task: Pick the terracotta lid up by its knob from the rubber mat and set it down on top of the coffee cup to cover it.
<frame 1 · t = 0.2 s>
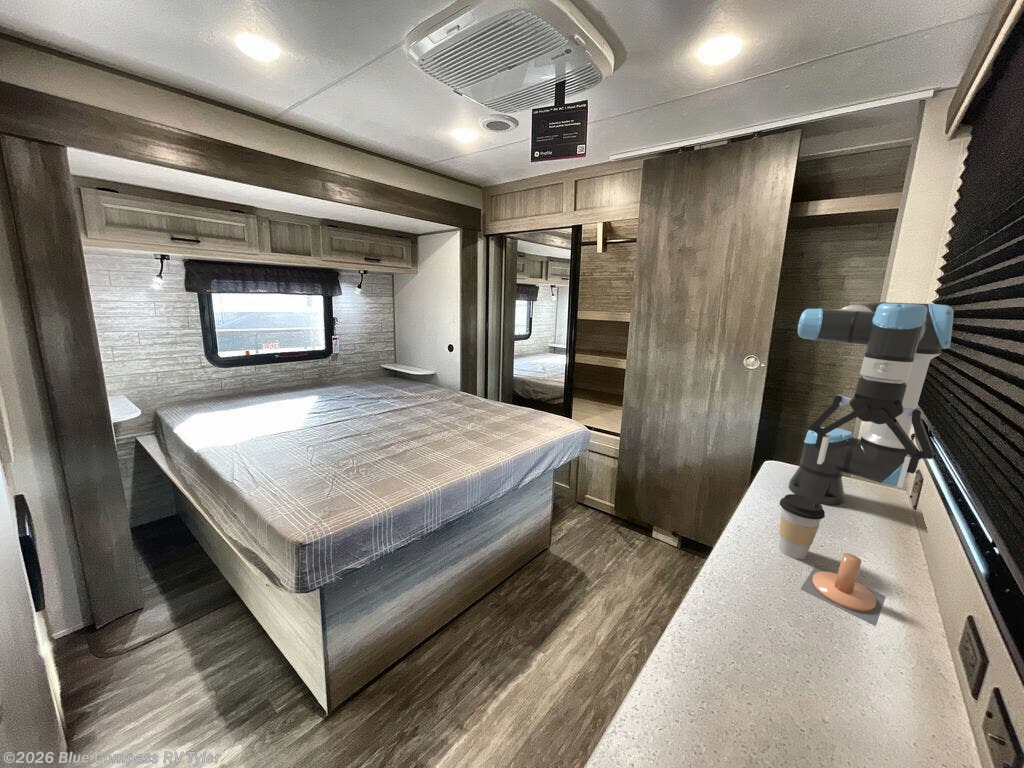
hand: (857, 473, 88), 28 cm above the countertop, fingers open, 13 cm apart
coffee cup: (791, 554, 104), on the countertop
lid: (842, 592, 90), point 1 cm above the countertop, touching mat
mat: (841, 594, 90), on the countertop
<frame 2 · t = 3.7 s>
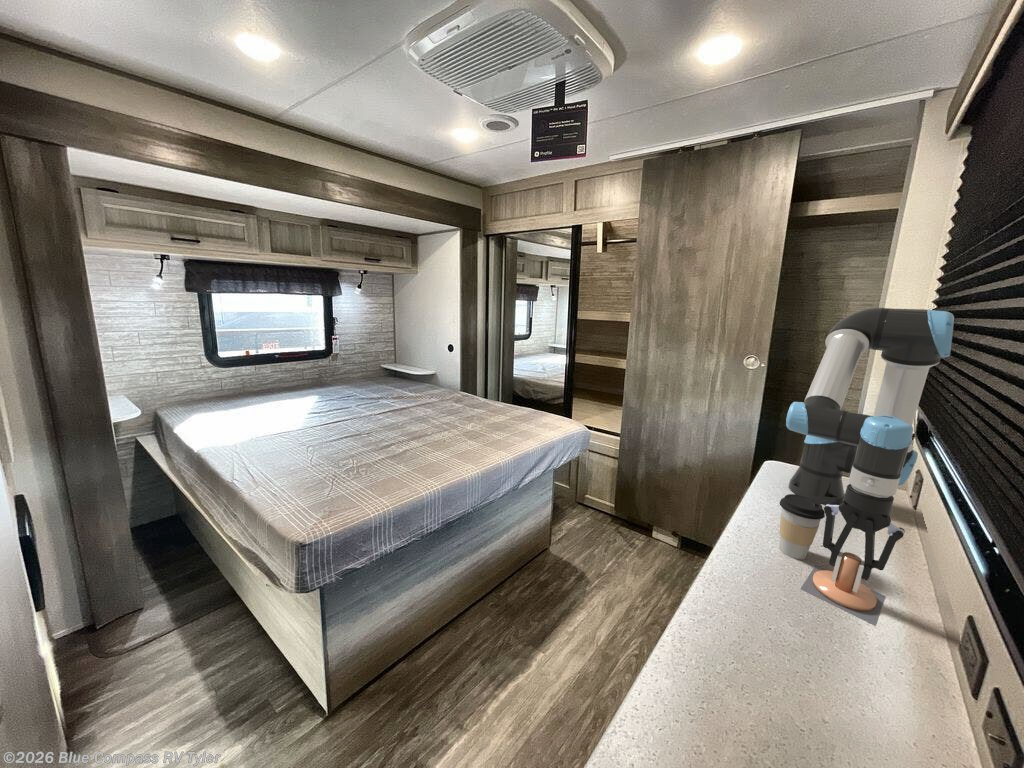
hand: (844, 583, 90), 3 cm above the countertop, fingers closed on lid, 3 cm apart
lid: (842, 591, 90), point 1 cm above the countertop, touching gripper
everything else where it was.
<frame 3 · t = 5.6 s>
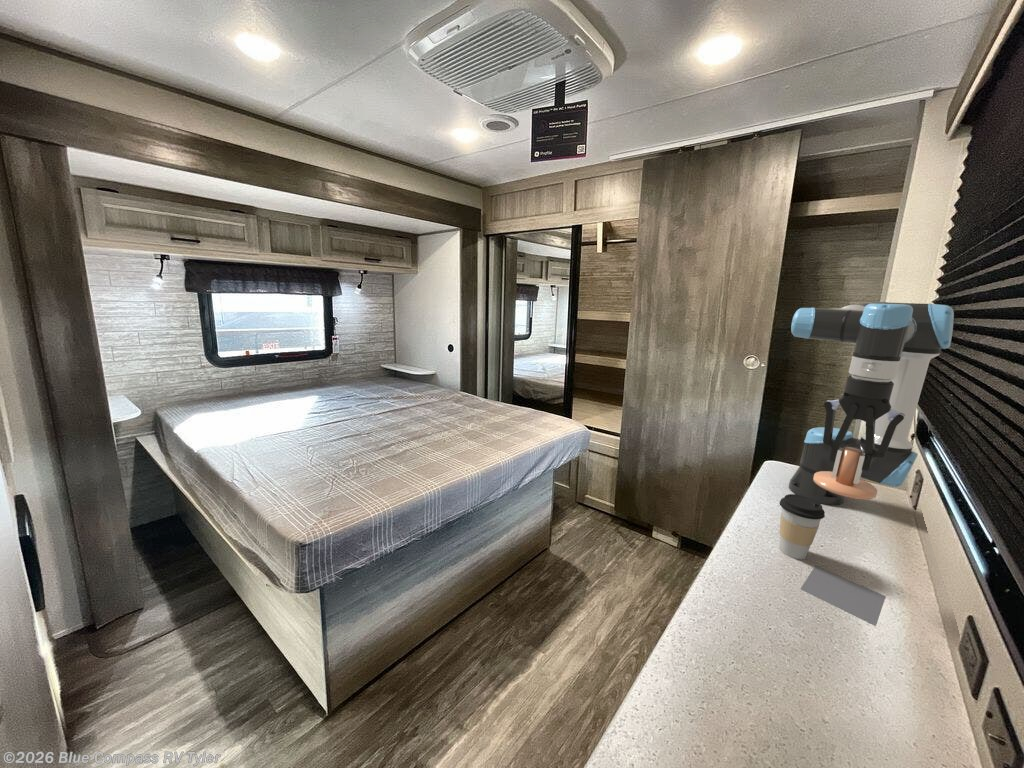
hand: (845, 478, 90), 26 cm above the countertop, fingers closed on lid, 3 cm apart
lid: (843, 486, 91), point 24 cm above the countertop, touching gripper
everything else where it was.
when the fingers open (19 cm above the countertop, at t = 8.1 s): lid drops 2 cm, resting on coffee cup.
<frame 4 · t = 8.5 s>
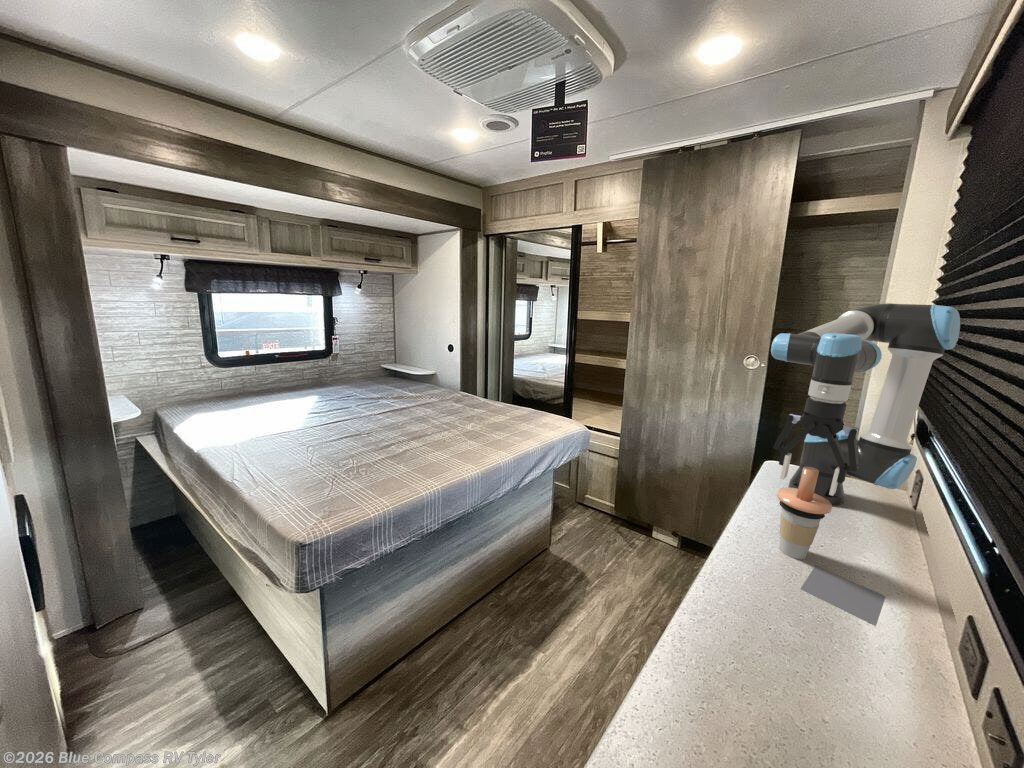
hand: (807, 485, 100), 20 cm above the countertop, fingers open, 9 cm apart
coffee cup: (791, 554, 104), on the countertop, touching lid
lid: (803, 502, 101), point 15 cm above the countertop, touching coffee cup
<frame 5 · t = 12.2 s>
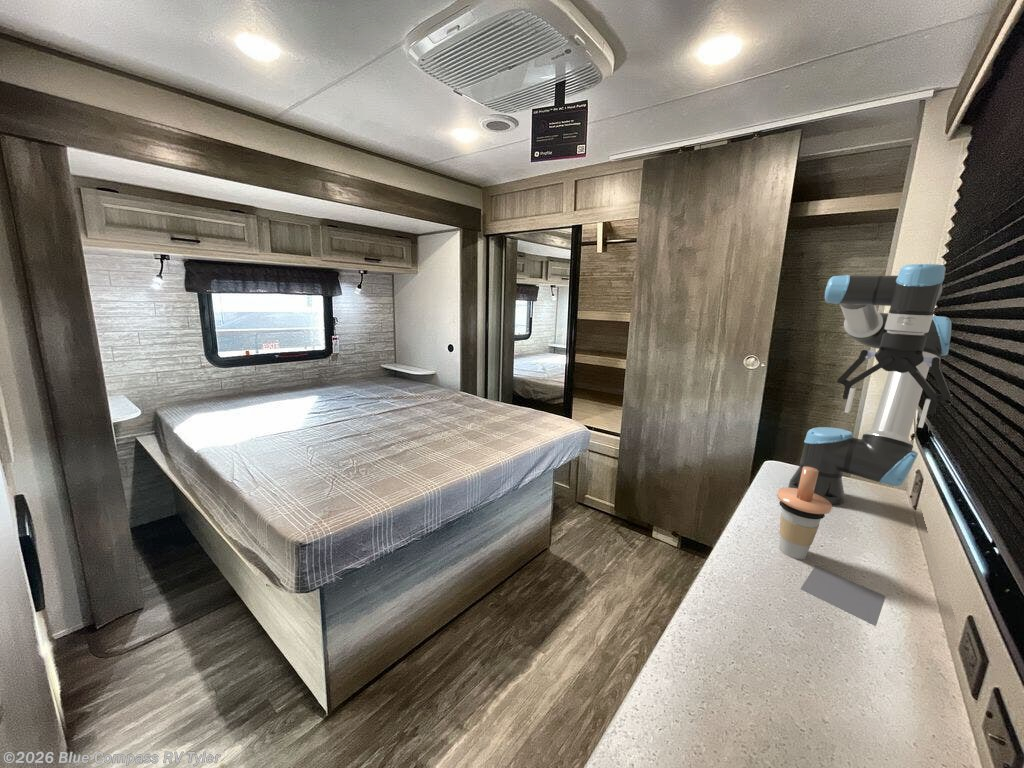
hand: (882, 418, 99), 37 cm above the countertop, fingers open, 13 cm apart
nothing on the countertop moved.
at the end: lid 0.1 cm from the coffee cup (horizontally); lid point 15.0 cm above the countertop; lid tilted 0° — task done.
